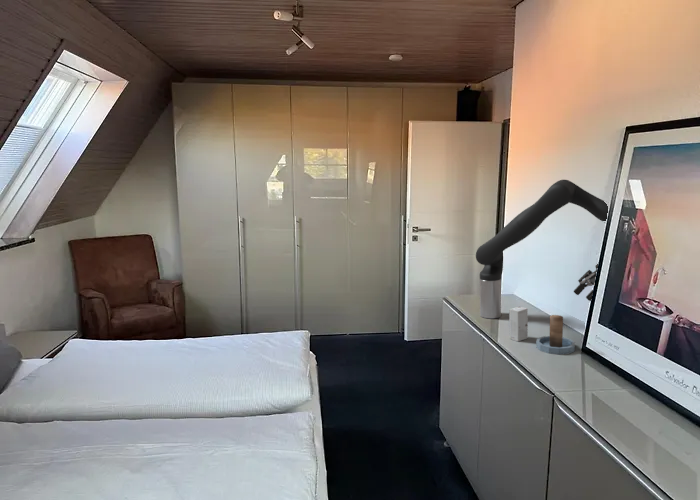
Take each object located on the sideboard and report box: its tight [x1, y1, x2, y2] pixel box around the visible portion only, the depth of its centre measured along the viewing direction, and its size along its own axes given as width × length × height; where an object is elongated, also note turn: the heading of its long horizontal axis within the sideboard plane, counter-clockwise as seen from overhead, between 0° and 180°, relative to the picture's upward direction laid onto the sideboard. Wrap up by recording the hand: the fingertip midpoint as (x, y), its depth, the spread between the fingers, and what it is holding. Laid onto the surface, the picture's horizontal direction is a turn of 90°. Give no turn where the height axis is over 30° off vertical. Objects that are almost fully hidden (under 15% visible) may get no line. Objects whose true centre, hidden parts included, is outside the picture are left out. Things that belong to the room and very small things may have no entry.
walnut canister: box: [549, 314, 564, 347], centre depth 181 cm, size 4×4×11 cm
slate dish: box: [535, 335, 576, 355], centre depth 182 cm, size 13×13×2 cm
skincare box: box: [508, 306, 529, 342], centre depth 192 cm, size 6×4×12 cm
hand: (581, 296), depth 179 cm, fingers open, 8 cm apart
